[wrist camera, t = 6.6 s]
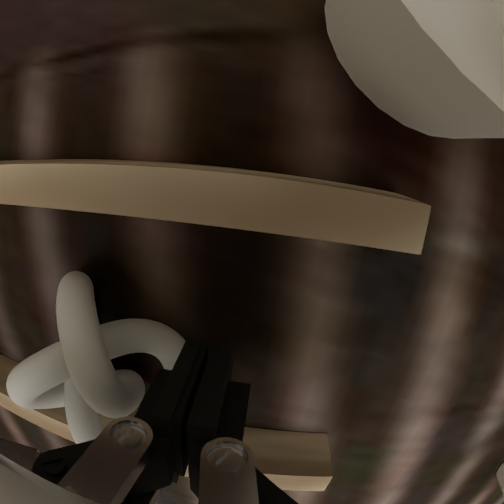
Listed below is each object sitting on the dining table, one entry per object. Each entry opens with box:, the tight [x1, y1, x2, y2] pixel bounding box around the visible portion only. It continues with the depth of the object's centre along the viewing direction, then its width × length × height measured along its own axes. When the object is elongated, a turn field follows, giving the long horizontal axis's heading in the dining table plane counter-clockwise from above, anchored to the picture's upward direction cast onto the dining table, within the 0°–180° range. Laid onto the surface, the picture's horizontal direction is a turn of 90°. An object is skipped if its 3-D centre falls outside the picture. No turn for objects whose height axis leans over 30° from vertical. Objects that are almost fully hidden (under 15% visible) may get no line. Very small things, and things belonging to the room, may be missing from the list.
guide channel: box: [0, 159, 431, 491], centre depth 11 cm, size 14×26×5 cm, turn 83°
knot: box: [6, 271, 185, 444], centre depth 11 cm, size 8×8×6 cm
